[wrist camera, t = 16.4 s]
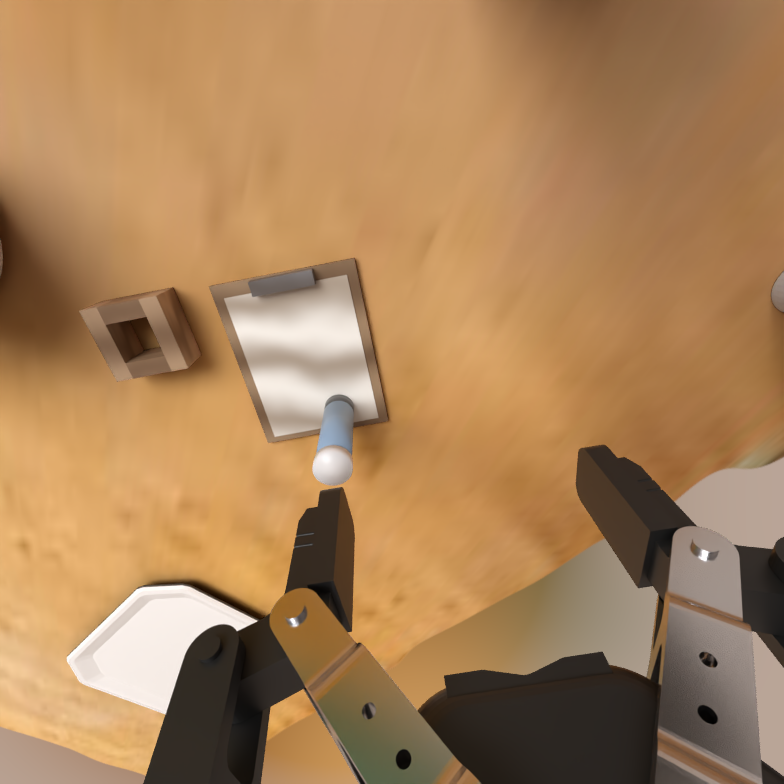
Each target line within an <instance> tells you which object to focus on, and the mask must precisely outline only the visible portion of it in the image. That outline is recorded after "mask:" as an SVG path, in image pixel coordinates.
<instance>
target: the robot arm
mask: <svg viewBox="0 0 784 784" xmlns="http://www.w3.org/2000/svg"><path fill="white" fill-rule="evenodd" d="M576 489H577V493H578V496H579V498H580V500H581V502H582V504H583V505H584V507H585V508H586V510H587V511H588V513H589V514H590V516H591V517H592V519H593V520H594V522H595V523H596V525H597V526H598V528H599V529H600V531H601V532H602V534H603V536H604V537H605V539H606V540H607V541H608V543H609V545H610V546H611V547H612V549H613V551H614V552H615V554H616V555H617V557H618V558H619V560H620V561H621V563H622V564H623V566H624V567H625V569H626V570H627V572H628V573H629V575H630V576H631V578H632V580H633V581H634V583H635V584H636V586H637V587H638V588H643V587H649V586H653V587H654V588H655V590H656V591H657V593H658V598H657V603H656V612H655V621H654V629H653V637H652V646H651V654H650V661H649V666H648V672H647V677H644V676H642V675H640V674H638V673H636V672H633V671H630V670H628V669H625V668H621V667H617V666H613V665H609V664H608V662H607V660H606V658H605V656H604V654H603V652H597V653H590V654H584V655H577V656H570V657H564V658H561V659H559V660H557V661H555V662H553V663H551V664H549V665H547V666H545V667H543V668H541V669H539V670H537V671H535V672H533V673H531V674H528V675H518V674H510V673H503V672H495V671H487V670H478V671H472V672H465V673H459V674H452V675H446V676H444V678H445V685H446V688H445V689H443V690H441V691H439V692H438V693H436V694H435V695H433V696H432V697H430V698H429V699H428V700H427V701H426V702H425V703H424V704H423V705H422V706H421V707H420V708H419V709H418V711H417V710H416V708H415V707H414V706H413V705H412V704H411V702H410V701H409V700H408V699H407V698H406V696H405V695H404V694H403V692H402V691H401V690H400V689H399V688H398V687H397V685H396V684H395V683H394V681H393V680H392V679H391V678H390V677H389V675H388V674H387V673H386V672H385V670H384V669H383V668H382V667H381V665H380V664H379V663H378V662H377V661H376V659H375V658H374V657H373V656H372V654H371V653H370V652H369V651H368V650H367V648H366V647H365V646H364V645H363V644H361V643H358V644H357V643H356V642H355V641H354V640H353V639H352V637H351V636H350V635H349V634H348V632H352V611H353V577H354V542H355V533H354V524H353V519H352V516H351V512H350V509H349V506H348V502H347V499H346V495H345V492H344V489H343V488H342V487H340V488H334V489H328V490H322V491H320V495H319V502H318V507H314V508H308V509H307V510H306V511H305V513H304V514H303V516H302V517H301V519H300V520H299V523H298V528H297V533H296V538H295V544H294V549H293V554H292V559H291V565H290V570H289V575H288V580H287V586H286V590H285V594H284V595H283V596H282V597H281V598H280V599H279V600H278V601H277V602H276V604H275V605H274V607H273V609H272V611H271V613H270V614H269V615H267V616H266V617H265V618H263V619H261V620H259V621H257V622H255V623H253V624H251V625H249V626H247V627H245V628H243V629H241V630H238V631H236V629H235V628H234V627H232V626H231V625H227V624H220V625H216V626H213V627H210V628H208V629H207V630H205V631H204V632H202V633H201V634H200V635H199V636H198V637H197V638H196V639H195V640H194V641H193V642H192V643H191V645H190V646H189V648H188V649H187V651H186V653H185V656H184V659H183V662H182V665H181V668H180V671H179V674H178V678H177V681H176V684H175V687H174V690H173V693H172V696H171V699H170V702H169V706H168V709H167V712H166V715H165V718H164V721H163V724H162V727H161V730H160V734H159V737H158V740H157V743H156V746H155V749H154V752H153V755H152V758H151V762H150V765H149V768H148V771H147V774H146V777H145V780H144V783H143V784H261V777H262V769H263V762H264V754H265V745H266V738H267V730H268V722H269V714H270V707H271V706H273V705H274V704H276V703H278V702H280V701H282V700H284V699H285V698H287V697H289V696H291V695H293V694H295V693H297V692H298V691H300V690H302V689H303V690H304V691H305V693H306V695H307V696H308V698H309V700H310V701H311V703H312V705H313V706H314V708H315V710H316V711H317V713H318V715H319V716H320V718H321V719H322V721H323V723H324V724H325V726H326V728H327V730H328V731H329V733H330V735H331V736H332V738H333V739H334V741H335V743H336V745H337V746H338V748H339V750H340V751H341V753H342V755H343V757H344V759H345V760H346V762H347V764H348V766H349V767H350V769H351V771H352V773H353V774H354V776H355V777H356V779H357V781H358V783H359V784H784V776H782V775H781V774H780V773H778V772H777V771H775V770H774V769H773V768H771V767H770V766H769V765H767V764H766V763H765V762H763V761H762V760H761V756H760V743H759V727H758V714H757V699H756V686H755V671H754V657H753V642H752V631H754V632H756V633H757V634H758V635H759V637H760V638H761V639H762V640H763V642H764V643H765V644H766V645H767V647H768V648H769V650H770V651H771V652H772V653H773V654H774V656H775V657H776V658H777V660H778V661H779V662H780V664H781V665H782V666H783V667H784V537H783V538H780V539H779V540H778V541H777V542H776V544H775V546H774V548H773V549H765V548H756V547H746V546H738V545H733V544H732V543H731V542H730V541H729V540H728V539H727V538H725V537H724V536H722V535H720V534H719V533H717V532H715V531H712V530H709V529H706V528H702V527H697V526H696V525H695V524H694V523H693V522H692V521H691V520H690V518H689V517H688V516H687V515H686V514H685V513H684V512H683V511H682V510H681V509H680V508H679V507H678V506H677V505H676V503H675V502H674V501H673V500H672V499H671V498H670V497H669V496H668V495H667V494H666V493H665V492H664V491H663V490H661V488H660V486H659V485H658V484H657V483H656V482H655V481H654V480H652V478H651V477H650V476H649V475H648V474H647V473H646V472H645V471H644V469H643V468H642V467H641V466H639V465H637V464H636V463H634V462H632V461H630V460H629V459H627V458H625V457H623V458H617V457H616V456H615V455H614V454H613V453H612V451H611V450H610V449H609V448H608V447H607V446H606V445H598V446H592V447H586V448H581V449H580V450H579V452H578V463H577V475H576Z"/></svg>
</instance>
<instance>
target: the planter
mask: <svg viewBox="0 0 784 784" xmlns="http://www.w3.org/2000/svg"><path fill="white" fill-rule="evenodd" d="M2 265H3V253H2V244H1V240H0V277H1V273H2Z"/></svg>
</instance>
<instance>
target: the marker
mask: <svg viewBox="0 0 784 784" xmlns="http://www.w3.org/2000/svg"><path fill="white" fill-rule="evenodd" d="M353 420H354V404H353V402H352V400H351V399H350V398H349V397H347V396H345V395H340V394H338V395H333V396H331V397H330V398H329V399H328V400H327V401H326V403H325V408H324V414H323V419H322V425H321V430H320V436H319V441H318V447H317V453H316V455H315V458H314V463H313V474H314V476H315V477H316V479H317V480H318V481H320V482H321V483H323V484H326V485H340V484H342V483H344V482H346V481H347V480H348V479H349V478H350V477H351V475H352V471H353V458H352V444H353Z"/></svg>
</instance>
